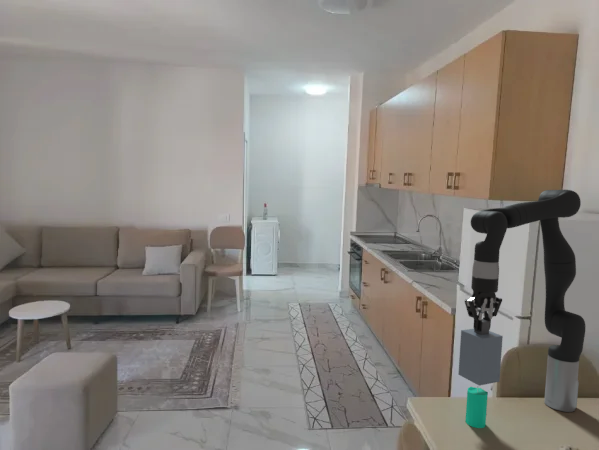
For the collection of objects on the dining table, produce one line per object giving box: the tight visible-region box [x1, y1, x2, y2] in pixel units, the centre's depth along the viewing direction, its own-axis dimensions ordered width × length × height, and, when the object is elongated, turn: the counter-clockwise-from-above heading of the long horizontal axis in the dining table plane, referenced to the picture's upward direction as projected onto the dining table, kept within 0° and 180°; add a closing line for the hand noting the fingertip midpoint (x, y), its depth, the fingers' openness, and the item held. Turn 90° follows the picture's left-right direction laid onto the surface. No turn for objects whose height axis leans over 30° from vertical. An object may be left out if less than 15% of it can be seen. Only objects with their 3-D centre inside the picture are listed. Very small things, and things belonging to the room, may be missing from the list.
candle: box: [465, 386, 488, 429], centre depth 133 cm, size 6×6×12 cm
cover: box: [458, 318, 503, 387], centre depth 132 cm, size 8×8×18 cm
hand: (481, 330), depth 132 cm, fingers closed on cover, 3 cm apart
